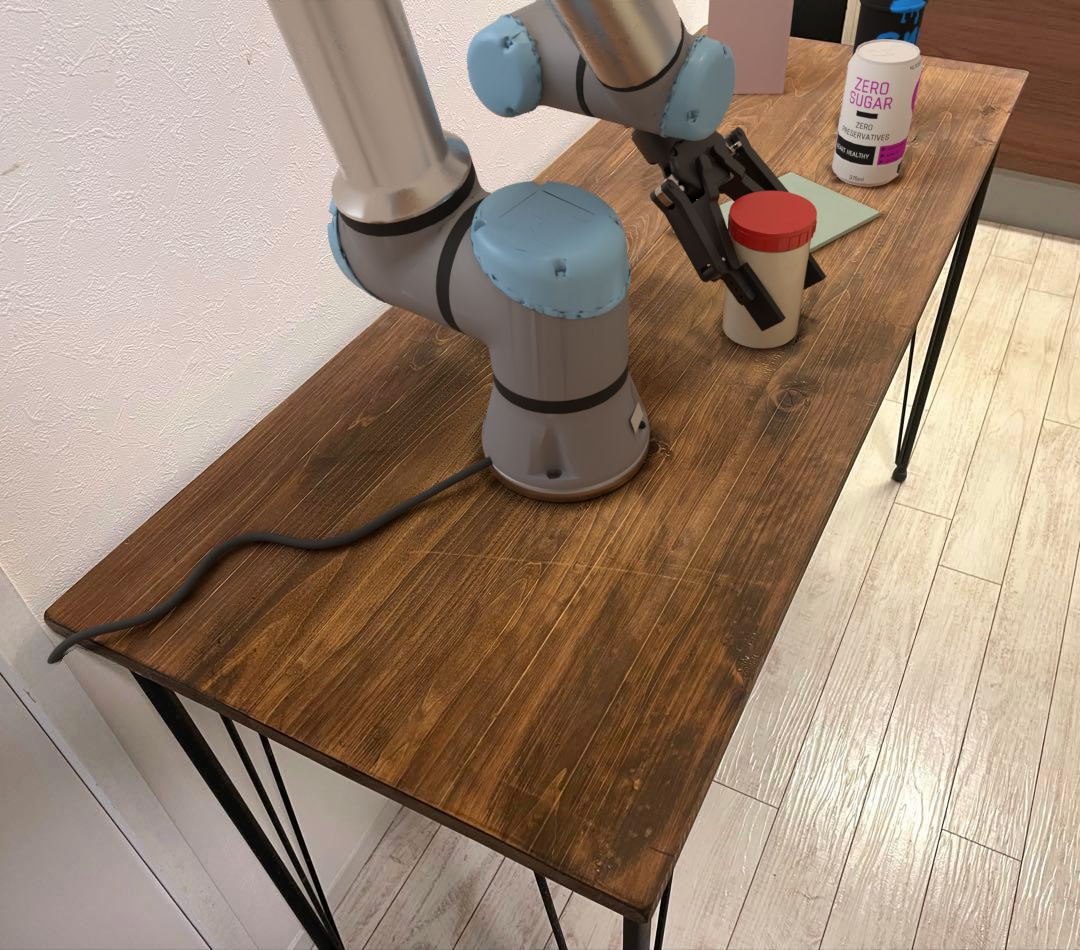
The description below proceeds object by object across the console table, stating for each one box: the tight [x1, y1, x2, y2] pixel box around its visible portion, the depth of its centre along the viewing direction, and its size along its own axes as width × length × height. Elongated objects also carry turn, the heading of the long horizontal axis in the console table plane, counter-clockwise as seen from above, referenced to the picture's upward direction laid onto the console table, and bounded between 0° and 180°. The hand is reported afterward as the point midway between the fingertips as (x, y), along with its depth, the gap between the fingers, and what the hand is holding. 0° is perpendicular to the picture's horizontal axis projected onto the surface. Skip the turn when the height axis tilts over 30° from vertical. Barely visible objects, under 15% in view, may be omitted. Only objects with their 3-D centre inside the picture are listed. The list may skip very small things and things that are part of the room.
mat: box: [672, 171, 881, 260], centre depth 108 cm, size 20×14×1 cm
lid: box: [728, 191, 817, 252], centre depth 86 cm, size 8×8×2 cm
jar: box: [721, 237, 811, 349], centre depth 90 cm, size 8×8×12 cm
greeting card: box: [706, 0, 795, 95], centre depth 130 cm, size 11×7×15 cm, turn 46°
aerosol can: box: [851, 0, 929, 57], centre depth 118 cm, size 8×8×20 cm
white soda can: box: [831, 39, 924, 188], centre depth 110 cm, size 8×8×15 cm
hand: (794, 303), depth 90 cm, fingers closed on jar, 8 cm apart
